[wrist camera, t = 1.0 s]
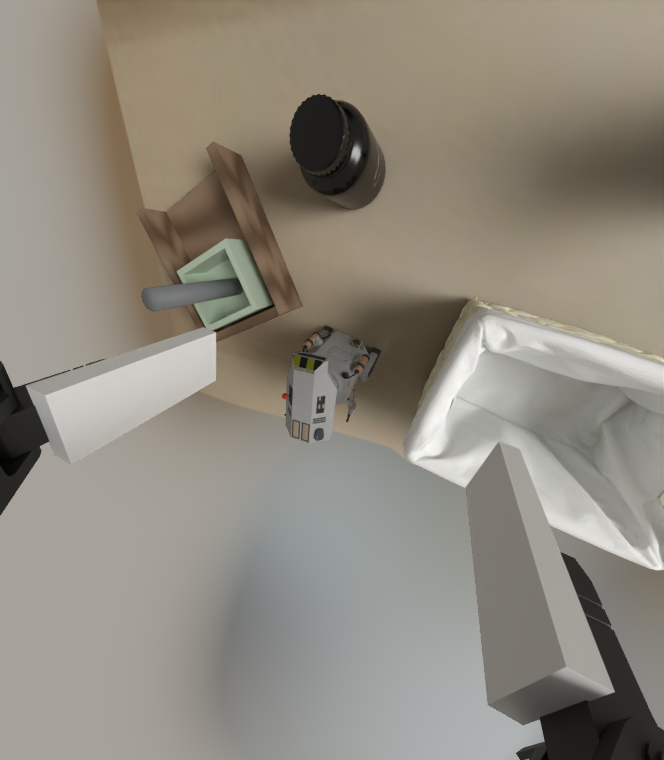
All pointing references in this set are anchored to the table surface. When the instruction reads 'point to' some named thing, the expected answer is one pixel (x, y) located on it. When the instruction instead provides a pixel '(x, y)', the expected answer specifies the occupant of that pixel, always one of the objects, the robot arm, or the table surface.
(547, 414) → the storage basket
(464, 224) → the table surface
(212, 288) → the green box with handle
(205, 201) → the bay
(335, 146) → the supplement bottle
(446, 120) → the table surface
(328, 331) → the figurine
